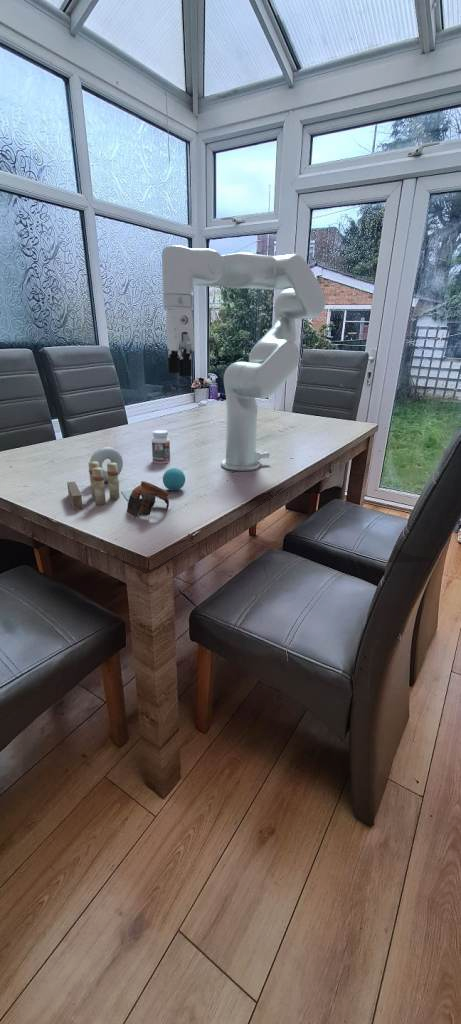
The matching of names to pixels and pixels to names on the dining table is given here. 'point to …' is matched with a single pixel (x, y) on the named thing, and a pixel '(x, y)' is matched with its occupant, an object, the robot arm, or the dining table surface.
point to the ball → (174, 479)
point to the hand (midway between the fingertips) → (179, 374)
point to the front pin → (113, 480)
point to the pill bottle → (160, 447)
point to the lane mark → (128, 493)
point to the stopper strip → (75, 495)
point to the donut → (107, 454)
